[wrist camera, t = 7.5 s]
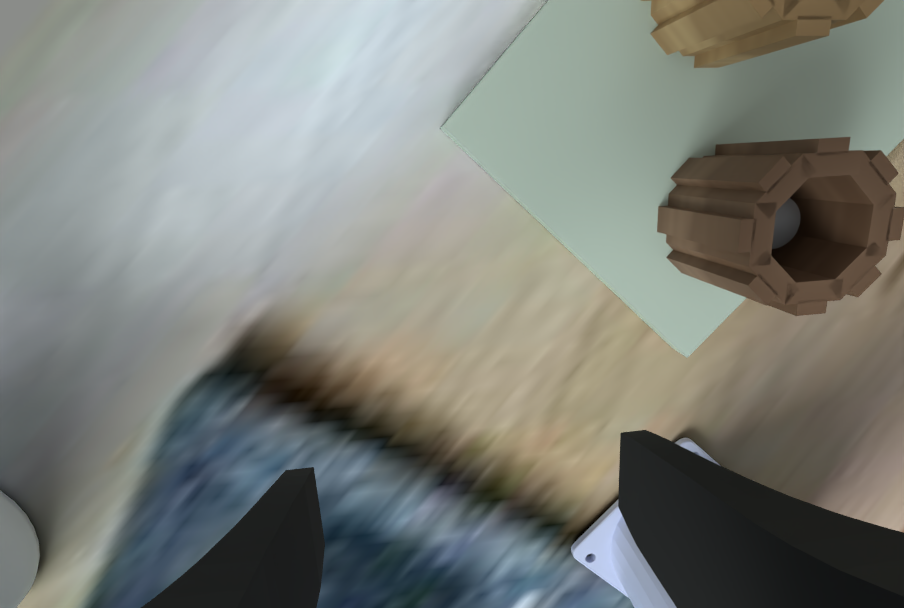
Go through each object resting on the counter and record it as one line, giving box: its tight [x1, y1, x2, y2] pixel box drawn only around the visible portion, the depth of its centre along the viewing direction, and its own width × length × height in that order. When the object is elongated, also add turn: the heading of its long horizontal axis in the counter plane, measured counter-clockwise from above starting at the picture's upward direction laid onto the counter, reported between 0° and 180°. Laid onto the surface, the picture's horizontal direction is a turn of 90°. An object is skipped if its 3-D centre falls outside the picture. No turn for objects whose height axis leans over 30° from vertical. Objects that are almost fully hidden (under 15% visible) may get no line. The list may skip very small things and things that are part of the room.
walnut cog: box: [657, 137, 904, 316], centre depth 18 cm, size 5×5×5 cm
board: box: [440, 0, 904, 358], centre depth 19 cm, size 14×15×4 cm
